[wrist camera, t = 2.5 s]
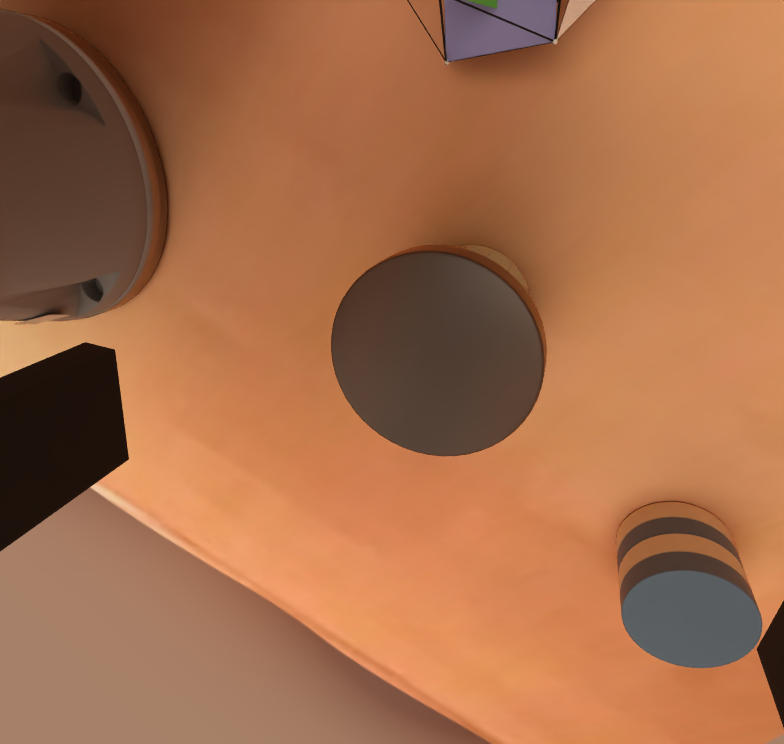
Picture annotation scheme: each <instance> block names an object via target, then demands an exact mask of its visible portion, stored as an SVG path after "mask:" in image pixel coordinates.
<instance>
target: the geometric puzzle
mask: <svg viewBox="0 0 784 744" xmlns="http://www.w3.org/2000/svg"><path fill="white" fill-rule="evenodd" d="M407 1H408V0H407ZM595 1H596V0H569V1H568V4H567V7H566V10H565V13H564V16H563V19H562V22H561V26H560V29H559V32H558V35H557V30H558V22H559V13H560V5H561V0H444V5H445V34H444V24H443V13H442V3H441V0H439V5H440V15H441V25H442V35H443V45H444V55H445V58H444V57H443V55H442V54H441V52H440V50H439V49H438V47H437V45H436V44H435V42H434V41H433V39H432V37H431V36H430V34H429V33H428V31H427V29H426V28H425V26H424V25H423V23H422V21H421V20H420V18H419V17H418V15H417V13H416V12H415V10H414V9H413V7H412V5H411V4H410V2H409V1H408V2H409V4H410V6H411V7H412V9H413V10H414V12H415V14H416V15H417V17H418V18H419V20H420V22H421V23H422V25H423V26H424V28H425V30H426V31H427V33H428V34H429V36H430V38H431V39H432V41H433V42H434V44H435V46H436V47H437V49H438V50H439V52H440V54H441V55H442V57H443V58H444V60H445V64H446V65H448V64H449V62H452V61H458V60H463V59H468V58H474V57H479V56H484V55H490V54H495V53H500V52H506V51H511V50H516V49H522V48H527V47H532V46H537V45H543V44H548V43H553V44H554V45H556V44H557V43H558V39H559V38H560V37H561V36H562V35H563V34H564V33H565V32H566V31H567V30H568V29H569V27H570V26H571V25H572V24H573V23H574V22H575V21H576V20H577V19H578V18H579V17H580V16H581V15H582V14H583V13H584V12H585V11H586V10H587V9H588V8H589V7H590V6H591V5H592V4H593V3H594V2H595ZM557 2H558V10H557V19H556V6H557Z"/></svg>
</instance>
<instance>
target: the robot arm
mask: <svg viewBox="0 0 784 744" xmlns="http://www.w3.org/2000/svg"><path fill="white" fill-rule="evenodd" d="M166 224H167V197H166V186H165V180H164V174H163V169H162V165H161V161H160V157H159V153H158V150H157V147H156V144H155V141H154V138H153V136H152V133H151V131H150V128H149V126H148V123H147V121H146V119H145V117H144V115H143V113H142V111H141V109H140V107H139V105H138V104H137V102H136V100H135V98H134V97H133V95H132V93H131V92H130V90H129V89H128V87H127V86H126V84H125V83H124V81H123V80H122V79H121V77H120V76H119V75H118V74H117V72H116V71H115V70H114V69H113V67H112V66H111V65H110V64H109V63H108V62H107V61H106V60H105V59H104V58H103V57H102V56H101V54H100V53H98V52H97V51H96V50H95V49H94V48H93V47H92V46H91V45H89V44H88V43H87V42H86V41H84V40H83V39H82V38H80V37H79V36H78V35H76V34H75V33H73V32H71V31H70V30H68V29H66V28H65V27H63V26H61V25H58V24H56V23H54V22H52V21H49V20H46V19H43V18H40V17H36V16H32V15H27V14H23V13H18V12H14V11H9V10H3V9H0V320H7V321H24V322H20V323H16V324H38V323H42V322H46V321H68V320H75V319H83V318H88V317H91V316H95V315H98V314H101V313H103V312H106V311H109V310H112V309H114V308H117V307H119V306H121V305H123V304H125V303H126V302H128V301H129V300H131V299H132V298H133V297H134V296H136V295H137V294H138V293H139V292H140V291H141V290H142V288H143V287H144V286H145V285H146V284H147V282H148V281H149V279H150V278H151V276H152V274H153V272H154V270H155V268H156V266H157V264H158V261H159V258H160V256H161V252H162V249H163V245H164V240H165V234H166ZM127 460H129V456H128V449H127V441H126V433H125V425H124V417H123V409H122V401H121V393H120V385H119V377H118V370H117V362H116V354H115V350H114V349H110V348H106V347H102V346H98V345H94V344H90V343H86V342H85V343H82V344H80V345H78V346H75V347H73V348H70V349H68V350H66V351H63V352H61V353H58V354H56V355H54V356H51V357H49V358H46V359H44V360H42V361H39V362H37V363H34V364H32V365H30V366H27V367H25V368H22V369H20V370H18V371H15V372H13V373H10V374H8V375H6V376H3V377H1V378H0V551H1V550H3V549H4V548H6V547H7V546H8V545H10V544H11V543H13V542H14V541H15V540H17V539H18V538H20V537H21V536H22V535H24V534H25V533H27V532H28V531H29V530H31V529H32V528H34V527H35V526H36V525H38V524H39V523H41V522H42V521H43V520H45V519H46V518H47V517H49V516H50V515H52V514H53V513H54V512H56V511H57V510H59V509H60V508H62V507H63V506H64V505H66V504H67V503H69V502H70V501H71V500H73V499H74V498H75V497H77V496H78V495H80V494H81V493H82V492H84V491H85V490H87V489H88V488H89V487H91V486H92V485H94V484H95V483H96V482H98V481H99V480H101V479H102V478H103V477H105V476H106V475H108V474H109V473H110V472H112V471H113V470H115V469H116V468H117V467H119V466H120V465H122V464H123V463H124V462H126V461H127ZM757 651H758V654H759V657H760V660H761V663H762V666H763V669H764V672H765V675H766V678H767V681H768V683H769V686H770V689H771V692H772V695H773V698H774V701H775V704H776V707H777V710H778V713H779V715H780V718H781V721H782V724H783V727H784V601H783V603H782V605H781V606H780V608H779V610H778V612H777V614H776V615H775V617H774V619H773V621H772V623H771V624H770V626H769V628H768V630H767V631H766V633H765V635H764V637H763V639H762V640H761V642H760V644H759V646H758V648H757Z"/></svg>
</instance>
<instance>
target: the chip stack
mask: <svg viewBox="0 0 784 744" xmlns="http://www.w3.org/2000/svg"><path fill="white" fill-rule="evenodd" d="M616 551H617V564H618V576H619V589H620V601H621V614H622V620H623V624H624V626H625V629H626V631H627V632H628V634H629V636H630V637H631V638H632V639H633V641H634V642H635V643H636V644H637V645H638V646H639V647H641V648H642V649H643V650H645V651H646V652H648V653H649V654H651V655H652V656H654V657H656V658H658V659H660V660H663V661H666V662H668V663H671V664H675V665H679V666H684V667H692V668H711V667H718V666H722V665H726V664H729V663H732V662H735V661H737V660H739V659H741V658H742V657H744V656H745V655H747V654H748V653H749V652H750V651H751V650H752V649H753V648H754V647H755V645H756V644H757V643H758V640H759V638H760V636H761V632H762V618H761V614H760V612H759V609H758V606H757V603H756V601H755V598H754V595H753V593H752V590H751V587H750V585H749V582H748V579H747V577H746V574H745V571H744V569H743V566H742V563H741V560H740V558H739V555H738V552H737V550H736V547H735V544H734V542H733V539H732V536H731V534H730V532H729V530H728V529H727V527H726V526H725V525H724V524H723V523H722V522H721V521H720V520H719V519H718V518H717V517H716V516H714V515H713V514H711V513H710V512H708V511H706V510H704V509H702V508H700V507H697V506H694V505H691V504H686V503H680V502H660V503H655V504H651V505H647V506H645V507H642V508H640V509H638V510H636V511H635V512H633V513H632V514H630V515H629V516H628V517H627V518H626V519H625V520H624V521H623V523H622V524H621V526H620V528H619V530H618V532H617V536H616Z"/></svg>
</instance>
